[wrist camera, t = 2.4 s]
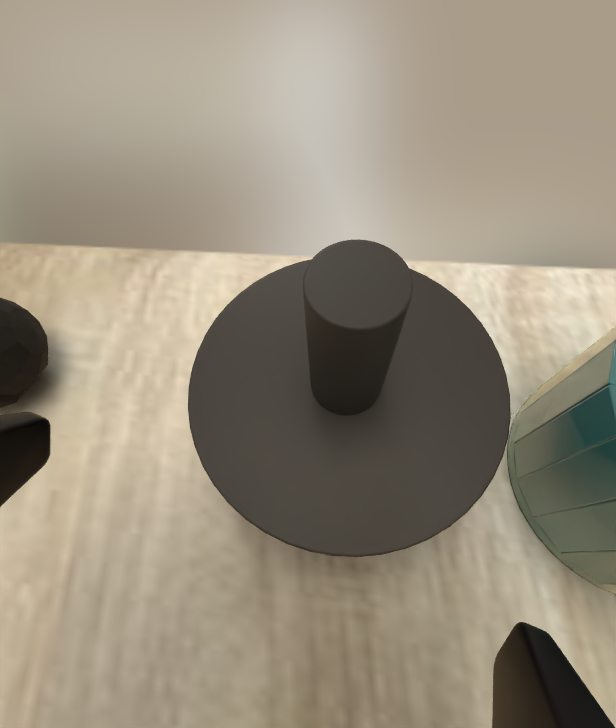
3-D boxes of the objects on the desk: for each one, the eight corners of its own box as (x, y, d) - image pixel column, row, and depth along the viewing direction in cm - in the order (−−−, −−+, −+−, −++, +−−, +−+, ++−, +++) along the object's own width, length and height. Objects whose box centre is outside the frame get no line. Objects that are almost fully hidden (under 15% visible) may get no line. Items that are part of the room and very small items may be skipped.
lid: (522, 578, 13) (691, 591, 7) (156, 535, 14) (28, 515, 8) (492, 271, 18) (575, 126, 12) (224, 255, 19) (176, 113, 13)
